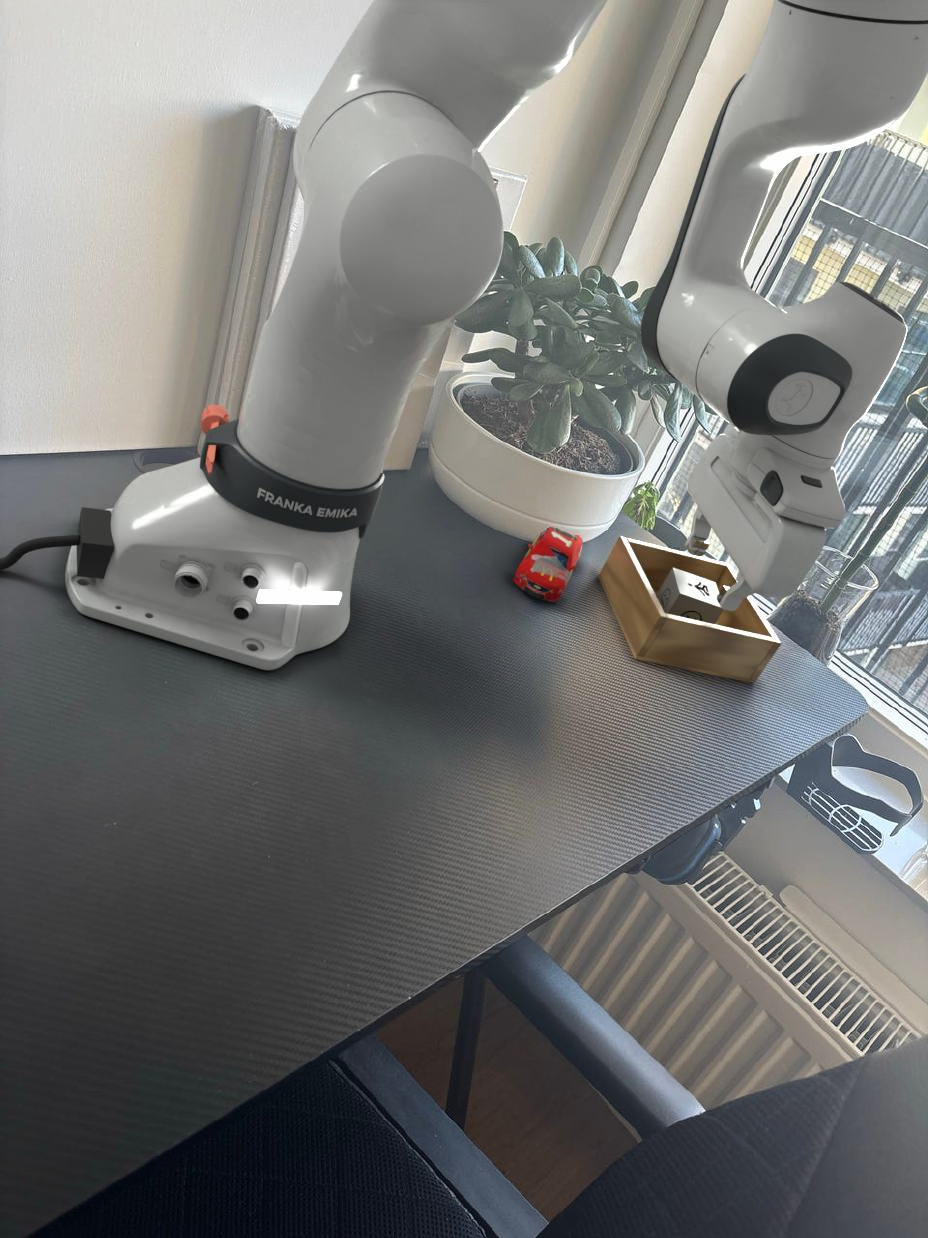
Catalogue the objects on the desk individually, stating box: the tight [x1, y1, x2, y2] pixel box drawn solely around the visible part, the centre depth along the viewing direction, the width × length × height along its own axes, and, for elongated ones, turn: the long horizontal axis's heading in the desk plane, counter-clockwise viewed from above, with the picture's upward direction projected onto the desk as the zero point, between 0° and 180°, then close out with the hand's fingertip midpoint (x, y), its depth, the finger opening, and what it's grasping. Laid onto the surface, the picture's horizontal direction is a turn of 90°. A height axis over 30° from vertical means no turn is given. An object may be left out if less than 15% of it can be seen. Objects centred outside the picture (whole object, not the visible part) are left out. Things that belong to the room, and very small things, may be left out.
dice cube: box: [656, 567, 724, 624], centre depth 98 cm, size 5×5×5 cm
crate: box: [597, 535, 783, 684], centre depth 98 cm, size 14×14×5 cm
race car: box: [512, 527, 584, 603], centre depth 98 cm, size 13×5×4 cm, turn 160°
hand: (708, 578), depth 96 cm, fingers open, 8 cm apart
